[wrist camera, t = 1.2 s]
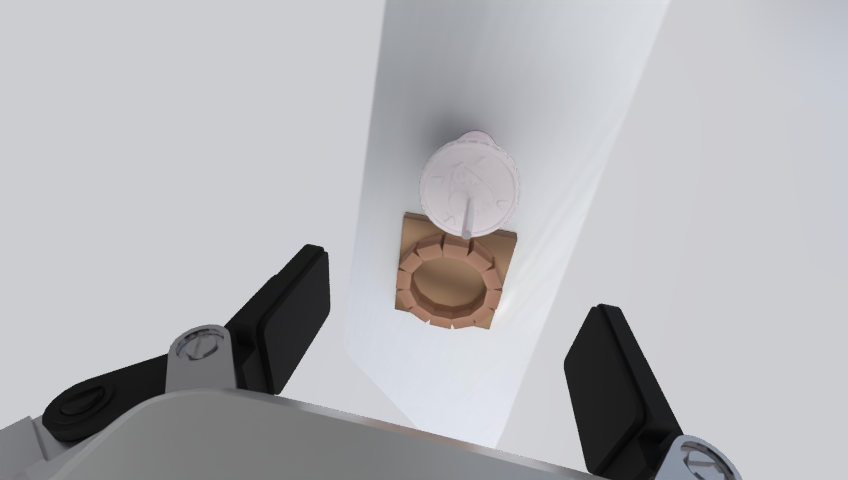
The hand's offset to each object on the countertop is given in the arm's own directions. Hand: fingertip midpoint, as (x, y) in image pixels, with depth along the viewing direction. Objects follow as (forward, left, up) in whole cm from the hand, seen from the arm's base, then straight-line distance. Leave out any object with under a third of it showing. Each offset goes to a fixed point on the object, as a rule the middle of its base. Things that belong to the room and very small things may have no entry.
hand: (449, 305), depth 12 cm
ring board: (+13, 0, -20) cm, 24 cm away
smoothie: (0, 0, -20) cm, 20 cm away
